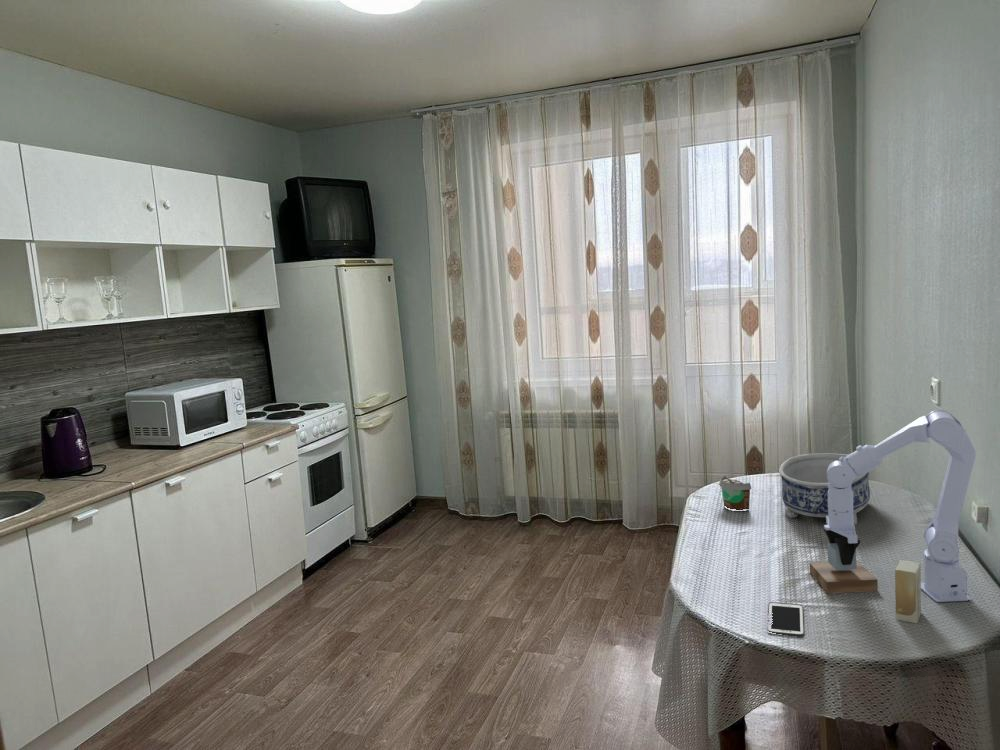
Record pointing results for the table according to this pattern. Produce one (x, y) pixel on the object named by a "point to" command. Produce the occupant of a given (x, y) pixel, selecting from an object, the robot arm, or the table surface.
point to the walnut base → (843, 578)
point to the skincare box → (908, 591)
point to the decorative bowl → (816, 485)
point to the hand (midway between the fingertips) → (842, 559)
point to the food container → (735, 493)
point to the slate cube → (835, 558)
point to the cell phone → (786, 619)
